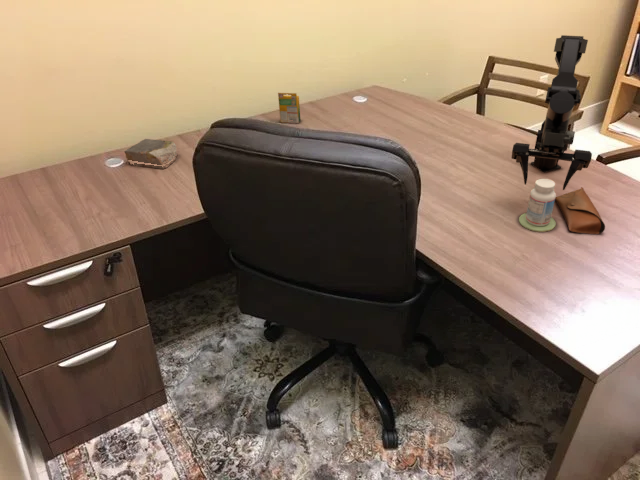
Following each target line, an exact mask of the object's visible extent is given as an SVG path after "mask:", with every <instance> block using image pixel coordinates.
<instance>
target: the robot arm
mask: <svg viewBox="0 0 640 480" xmlns="http://www.w3.org/2000/svg"><path fill="white" fill-rule="evenodd" d="M588 42H589V39H585V38H584V35H566V34H564V35H563V34H561V35H560V37H556V39H555V44H554V48H553V52H554V53H555V56H554V60H555V64H556V65H557V68H558V69H557V74H556V76H554V77H553V78H552V80H551V85H550V86H548V87H547V91H546V96H545V99H544V100H545V101H544V104H547V105H548V106H547V111H546V115H545V120H543V122H542V123H541V128H540V129H537V135H536V139H535V144H534V148H530V145H531V144H530V143H523V142H515V143H514V144H513V146H512V150H511V159H512V160H515V163H518V164H519V165H520V168H521V172H522V177H523V184H524V185H525V186H526V185H527V182H528V177H529V174H528V173H529V159H530V157H532V158H534V159H533V161H531V162H530V165H531V166H532V167H534V168H536V169H538V170H539V171H541V172H542V173H548V172H552V171H556V170H560V169H561V168H562V166H561V165H559V161H564V162H565V161H566V162H570V165H569V168H568V171H567V173H566V176H565V180H564V182H563V184H562V185H563V186H562V191H565V190H566V188H567V186H568V184H569V183H570V181H571V179H572V178H573V176H574V175H575V174H576V172H578V171H579V172H581V171H582V170H583V169H588V168H589V166H590V164H591V162H592V157H593V153H592V151H590V150H583V149H575V150H574V152H573V153H570V152H567V150H568V146H569V145H571V146H572V145H573V143H574V141H575V135H576V134H575V133H576V131H574V130H573V131H572V130H568V128H569V123H570V119H571V116H572V114H573V111H574V107H577V106H578V105H579V104H581V98H582V97H581V96H582V94H581V93H580V89H578V83H579V80H578V79H577V77H576V76H575V71H576V66H578V64H579V62H580V61H581V59H582V56H583V54H586V51H587V46H588Z"/></svg>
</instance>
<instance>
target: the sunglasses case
mask: <svg viewBox="0 0 640 480" xmlns="http://www.w3.org/2000/svg"><path fill="white" fill-rule="evenodd" d="M555 203H556V204H557V206H558V208H559V210H560V212H561V213H562V215H563V218H564V220H565V223H566V225H567V229H568V231H570V232H572V233H577V234H585V235H586V234H588V235H589V234H590V235H599V234H602V233H604V232H605V230H606V225H605V222H604V221H603V219H602V217H601V214H600V213H599V211H598V210H597V208H596V206H595V204H594V203H593V201H592V200H591V198H590V197H589V195H588V194H587V192H586V191H585V189H584V187H582V186H581V187H580V188H579V189H576V190H573V191H570V192H566V193H563V194H561V195H559V196H556V197H555Z"/></svg>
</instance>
